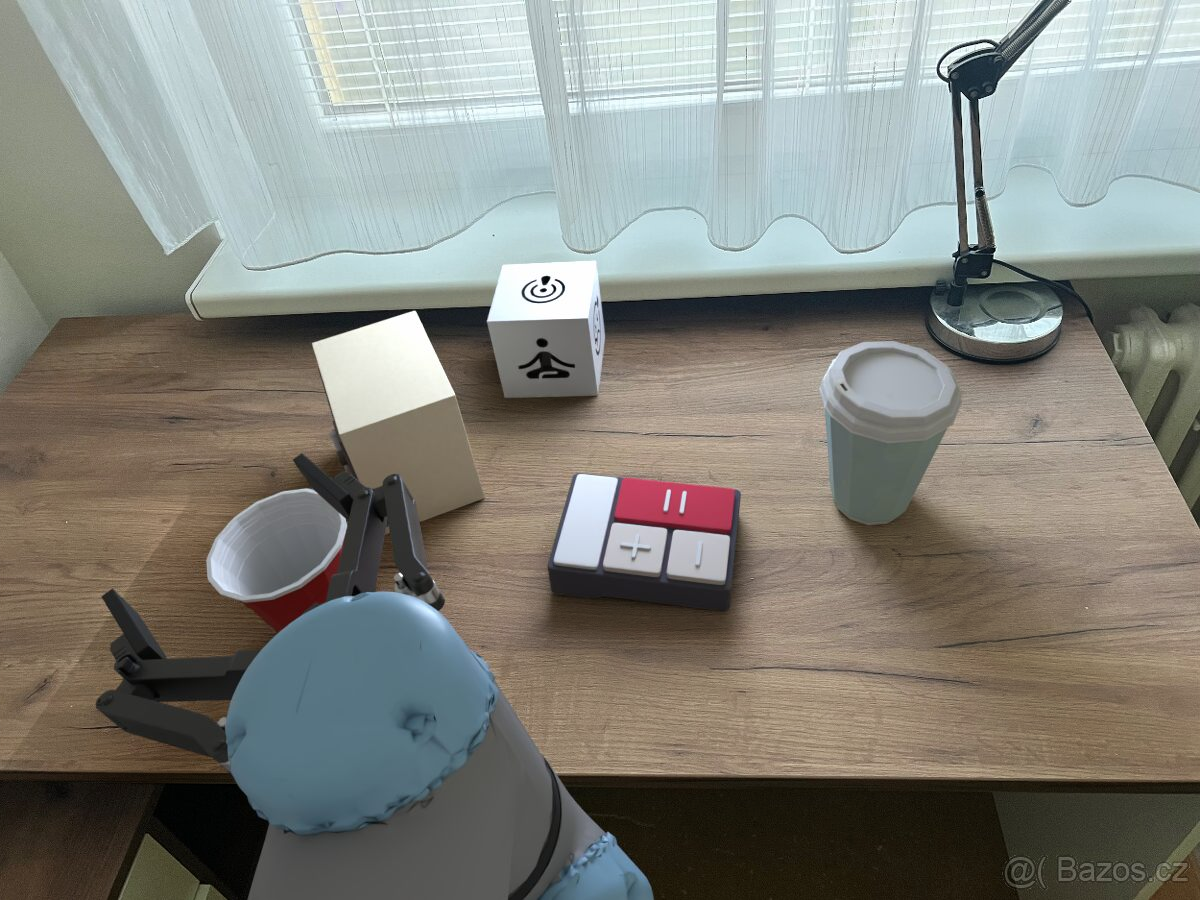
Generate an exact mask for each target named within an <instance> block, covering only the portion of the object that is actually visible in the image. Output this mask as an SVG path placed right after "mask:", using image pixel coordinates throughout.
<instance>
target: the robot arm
mask: <svg viewBox="0 0 1200 900" xmlns="http://www.w3.org/2000/svg"><path fill="white" fill-rule="evenodd" d="M292 462H293V463H294V464H295V466H296V467H297V469H298V470H299V472H300V473H301V475H302V477H303V478H304V480H306V482H307V484H308V486H309V487H310V489H312V490H314V491H316V492H317V493H318V494H319V495H320V496H321V497H322V498H323V499H324V500H325V501H327V502H328V503H329V504H330V505H331V506H332V507H333V508H334V509H335V510H337V511H338V512H339V513H340V514H341V515H342V516H343V517H344V518H345V519H346V521H348V522H347V529H346V535H345V539H344V544H343V548H342V553H341V558H340V562H339V567H338V571H337V574H333V575H332V576H331V580H330V584H329V588H328V593H327V597H326V602H324V603H322V604H320V605H318V604H317V603H314V604H313V605H312V606H311V607H309V608H308V609H307V610H306V611H304V613H303V614H302V615H301V616H300V617H299V618H297V619H296V620H294V621H293V622H292V623H290V624H289V625H288V626H286V627H285V628H284V629H282V630H281V631H279V632H278V633H277V632H276V633H275V634H274V635H273V636H272V637H270V638H269V639H268V643H266V645H265V646H263V648H262V649H240V650H236V651H234V653H233V655H226V656H205V657H204V656H203V657H201V656H200V657H199V656H198V657H177V658H168V656H167V655H166V653H165V652H164V651H163V648H162V647H161V645H160V644H159V642H158V641H157V639H156V638H155V637H154V635H153V633H152V632H151V631H150V629H149V628H148V626H147V624H146V623H145V621H144V619H143V618H142V617H141V615H140V613H139V612H138V611H136V610H135V608H133V607H132V605H130V604H129V603H128V602H127V601H126V600H125V599H124V597H122V596H121V595H120V594H119V593H118V592H117V591H116V590H115V589H114V588H113V587H112V588H111V589H110V590H108V591H107V592H105V593H104V594H103V595H101V596H100V598H101V600H102V601H103V603H104V604H105V605H106V607H107V609H108V611H109V612H110V614H111V616H112V617H113V619H114V620H115V622H116V624H117V625H118V627H119V629H120V631H121V632H122V633H123V634H121V635H119V636H118V637H117V638H115V639H114V640H113V641H111V642H110V643H109V644H110V647H109V652H110V654H111V655H112V656H113V658H114V660H115V662H114V665H113V670H114V671H115V672H116V673H117V674H118V675H119V676H120V677H122V679H121V682H120V684H119V685H118V686H117V687H116V688H115V689H109V690H106V691H104V692H103V693H101V694H100V696H98V698H97V699H96V701H95V704H94V706H95V709H96V710H98V712H100V713H101V714H102V715H104V716H105V718H107V719H109V721H110V722H112V723H113V724H115V726H117V727H119V729H121V731H123V732H125V733H127V734H131V735H134V736H137V737H141V738H144V739H147V740H151V741H154V742H157V743H161V744H163V745H168V746H171V747H174V748H177V749H181V750H185V751H188V752H191V753H193V754H197V755H198V754H199V755H201V756H204V757H207V758H211V759H213V760H214V761H215V762H216V763H217V764H218V765H219V766H221V767H222V768H223V769H224V770H225V771H226V772H228V774H229V775H231V776H232V777H233V779H234V781H235V782H236V784H237V786H238V788H239V789H240V790H241V791H242V792H243V793H244V794H245V795H246V796H247V801H248V803H249V805H250V806H251V808H252V809H253V810H254V811H255V812H256V814H257V817H258V818H261V819H263V820H266V821H268V828H267V831H266V834H265V839H264V842H263V846H262V849H261V852H260V856H259V859H258V862H257V865H256V869H255V871H254V875H253V880H252V882H251V886H250V889H249V893H248V897H247V900H655V899H654V894H653V889H652V886H651V884H650V882H649V879H648V878H647V876H645V874H644V873H643V872H642V870H641V869H640V868H639V867H638V866H637V865H636V864H635V863H634V862H633V861H632V860H631V859H630V857H629V856H628V855H627V854H626V853H625V852H624V851H623V850H622V848H621V847H620V846H619V845H618V841H617V837H616V836H614V835H613V834H612V833H610V832H609V831H606V832H605V831H604V830H603V829H602V828H601V827H600V826H599V825H598V824H597V823H596V822H595V821H594V820H593V819H592V818H591V817H590V816H589V814H587V812H585V811H584V809H582V807H581V806H580V805H579V804H578V803H577V801H575V799H574V798H573V796H572V795H571V794H570V793H569V792H568V790H567V788H566V786H565V785H564V784H563V782H562V781H561V779H560V777H559V776H558V774H557V773H556V772H555V770H554V768H553V767H552V765H551V763H550V762H549V761H548V760H547V759H546V757H545V756H544V755H543V754H542V753H541V751H540V750H539V748H538V746H537V745H536V743H535V742H534V740H533V739H532V737H531V735H530V734H529V732H528V730H527V729H526V726H524V724H523V722H522V721H521V719H520V717H519V716H518V715H517V713H516V711H515V709H514V708H513V706H512V705H511V703H510V702H509V700H508V698H507V697H506V695H505V694H504V692H503V691H502V689H501V688H500V686H499V684H498V682H497V681H496V676H495V674H494V673H493V671H491V668H490V665H489V664H488V663H487V662H486V661H485V660H484V657H483V656H481V655H480V654H479V653H477V652H475V651H473V650H471V648H470V647H469V646H468V645H467V643H466V642H465V641H464V639H463V637H461V635H459V633H458V632H457V630H456V629H455V628H454V627H453V625H451V622H449V620H448V619H447V618H446V617H445V616H444V615H443V614H442V613H441V612H440V611H441V610H442V609H443V607H444V606H445V604H446V600H445V597H444V595H443V594H442V592H441V590H440V589H439V587H438V585H437V583H436V582H435V581H434V579H433V577H432V575H431V573H430V572H429V565H428V561H427V554H426V550H425V544H424V540H423V534H422V529H421V528H422V527H421V522H419V517H418V512H417V507H416V502H415V501H414V499H413V497H412V495H411V493H410V492H409V490H408V488H407V486H406V485H405V483H404V481H403V480H402V478H401V476H400V475H399V474H391V475H389V476H387V477H386V478H385V479H384V481H383V485H382V486H380V487H378V488H374V489H371V488H369V487H366V486H364V485H363V484H362V483H361V482H360V481H358V480H357V479H356V478H355V477H354V476H352V475H351V474H350V473H349V472H346V471H345V470H342V471H340V472H339V473H338V474H336V475H335V476H334V477H331V476H329V475H328V474H327V473H326V472H324V470H322V469H321V468H320V467H319V466H318V465H317V464H316V463H314V462H313V461H312V460H311V459H310V458H308V457H307V456H306V455H305V454H304V453H303V452H301V453H300V454H298V455H297V456H295V457H294V458H293V459H292ZM388 525H389V531H390V533H389V539H390V543H391V544H390V545H391V551H392V557H393V562H394V565H395V567H396V569H397V570H398V573H397V572H396V574H395V575H394V576H393V581H394V584H393V587H392V589H393V591H385V590H384V591H377V590H376V589H377V584H378V578H379V572H380V566H381V561H382V555H383V549H384V544H385V538H386V535H385V533H386V527H388ZM209 701H210V702H216V701H230V703H229V707H228V710H227V714H226V716H222V717H221V718H219V719H218V720H217V721H216V720H214V719H213V718H211V717H209V716H208V715H206V714H204V713H199V712H198V711H197V712H196V711H193V710H189V709H186V708H181V707H179V706H175V705H170V704H167V703H177V702H178V703H179V702H209Z"/></svg>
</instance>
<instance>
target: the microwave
mask: <svg viewBox="0 0 1200 900" xmlns="http://www.w3.org/2000/svg"><path fill="white" fill-rule="evenodd" d="M311 346H312V350H313V352H314V356H315V358H316V363H317V366H318V368H317V370H318V373H319V377H320V381H321V383H322V386H323V390H324V394H325V397H326V400H327V403H328V406H329V409H330V413H331V417H332V425H333V428H334V429H331V431H330V432H329V436H330V439H331V441H332V443H333V446H334V448H335V450H336V455H337V458H338V461H339V463H340V465H341V467H343V468H344V472H349V473H350V474H351V475H352V476H354V477H355V478H356V479H357V480H358V481H360V482H361V483H362V484H363V485H364V486H366V487H369V488H371V489H374V488H378V487H380V486H382V485H383V481H384V479H385V478H386V477H387V476H389V475H391V474H399V475H400V476H401V478H402V480H403V481H404V483H405V485H406V486H407V488H408V490H409V492H410V493H411V495H412V497H413V499H414V501H415V502H416V507H417V512H418V517H419V523H423V522H425V521H427V520H429V519H430V520H431V519H433V518H435V517H437V516H440V515H443V514H445V513H448V512H451V511H455V510H456V509H459V508H461V507H464V506H467V505H470V504H473V503H476V502H478V501H481V500H484V499H485V494H484V490H483V486H482V483H481V480H480V476H479V473H478V469H477V465H476V462H475V460H474V455H473V452H472V448H471V445H470V444H471V443H470V441H469V437H468V434H467V430H466V428H465V427H466V426H465V424H464V420H463V417H462V414H461V410H460V406H459V403H458V399H457V396H456V394H455V391H454V389H453V387H452V385H451V383H450V381H449V379H448V377H447V374H446V372H445V370H444V368H443V366H442V363H441V362H440V359H439V357H438V356H437V353H436V352H435V349H434V347H433V345H432V343H431V341H430V338H429V337H428V334H427V332H426V329H425V328H424V326H423V323H422V322H421V320H420V317H419V315H418V313H417V311H416V310H412V311H409V312H405V313H403V314H400V315H397V316H393V317H390V318H387V319H383V320H380V321H378V322H374V323H371V324H368V325H365V326H361V327H359V328H356V329H352V330H349V331H346V332H343V333H339V334H336V335H333V336H330V337H327V338H324V339H320V340H318V341H314V342H312V343H311ZM386 535H390V531H389V525H388V527H386V533H385V536H386Z"/></svg>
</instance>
